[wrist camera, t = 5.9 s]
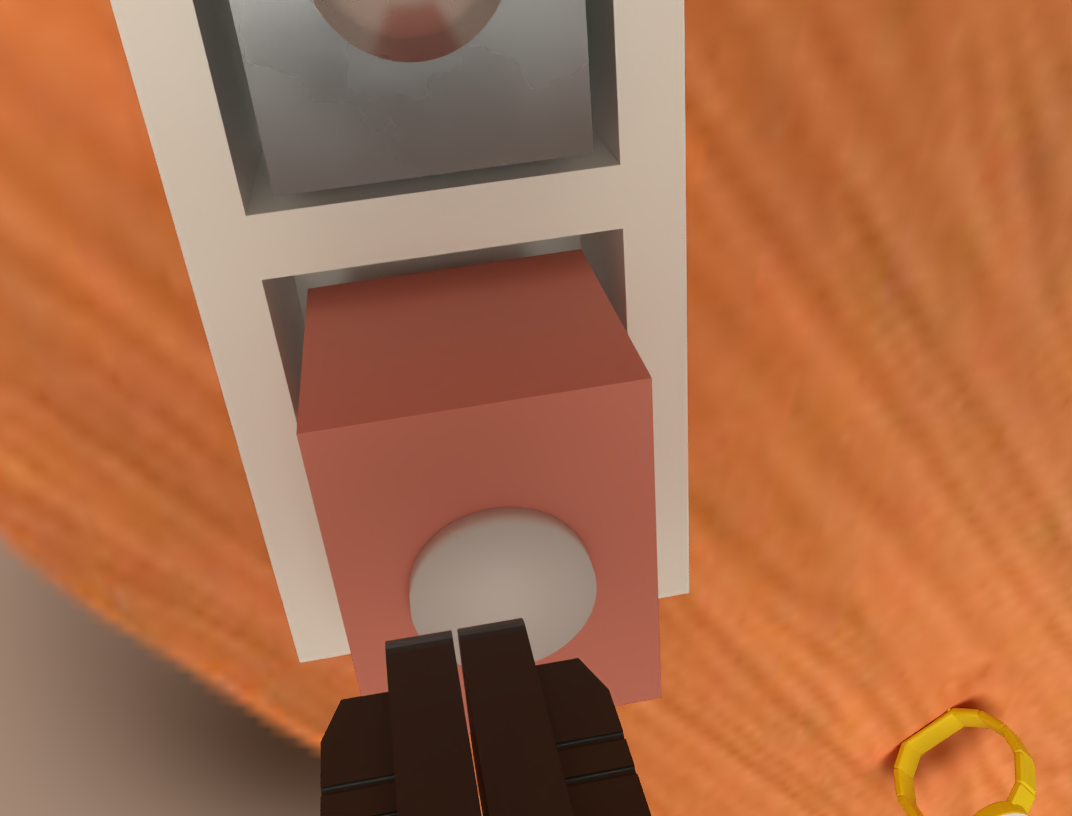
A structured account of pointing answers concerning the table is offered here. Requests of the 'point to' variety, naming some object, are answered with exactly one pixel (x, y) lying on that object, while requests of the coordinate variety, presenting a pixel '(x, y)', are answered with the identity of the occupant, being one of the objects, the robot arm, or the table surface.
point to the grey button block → (413, 86)
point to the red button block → (485, 464)
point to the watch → (1023, 792)
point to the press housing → (412, 249)
